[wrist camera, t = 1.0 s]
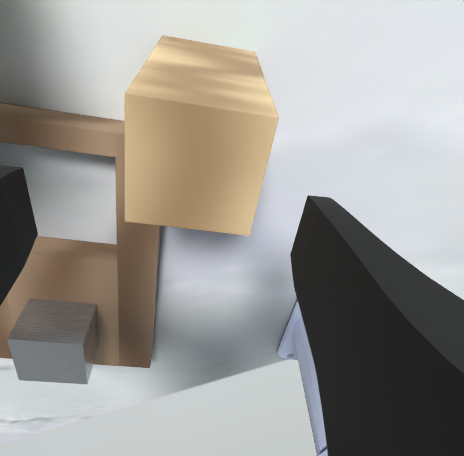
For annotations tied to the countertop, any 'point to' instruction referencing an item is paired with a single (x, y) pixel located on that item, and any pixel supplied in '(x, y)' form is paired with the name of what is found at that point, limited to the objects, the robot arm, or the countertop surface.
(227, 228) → the oak peg
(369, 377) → the robot arm
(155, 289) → the brown wooden frame
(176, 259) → the countertop surface
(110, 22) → the countertop surface
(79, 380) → the gray cube
